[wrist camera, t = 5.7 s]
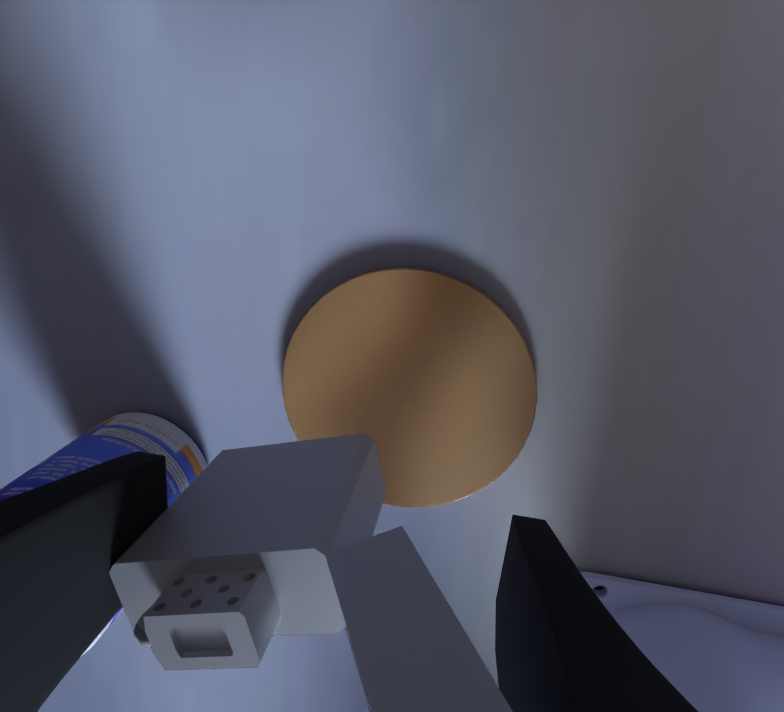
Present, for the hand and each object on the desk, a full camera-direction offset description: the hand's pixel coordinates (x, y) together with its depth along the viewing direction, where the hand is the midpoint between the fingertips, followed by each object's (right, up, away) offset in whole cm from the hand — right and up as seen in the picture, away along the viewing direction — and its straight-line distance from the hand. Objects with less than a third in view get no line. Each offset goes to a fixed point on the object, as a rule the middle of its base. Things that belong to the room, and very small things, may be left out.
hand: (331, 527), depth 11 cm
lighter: (0, +1, +2) cm, 3 cm away
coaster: (+2, +2, +8) cm, 9 cm away
